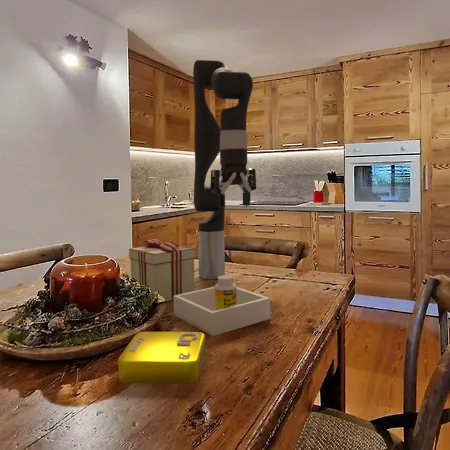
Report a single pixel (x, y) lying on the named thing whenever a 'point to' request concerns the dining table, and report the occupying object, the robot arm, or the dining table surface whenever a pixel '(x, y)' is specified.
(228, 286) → the supplement bottle
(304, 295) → the dining table surface
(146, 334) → the element tile
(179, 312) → the box
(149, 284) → the gift box
